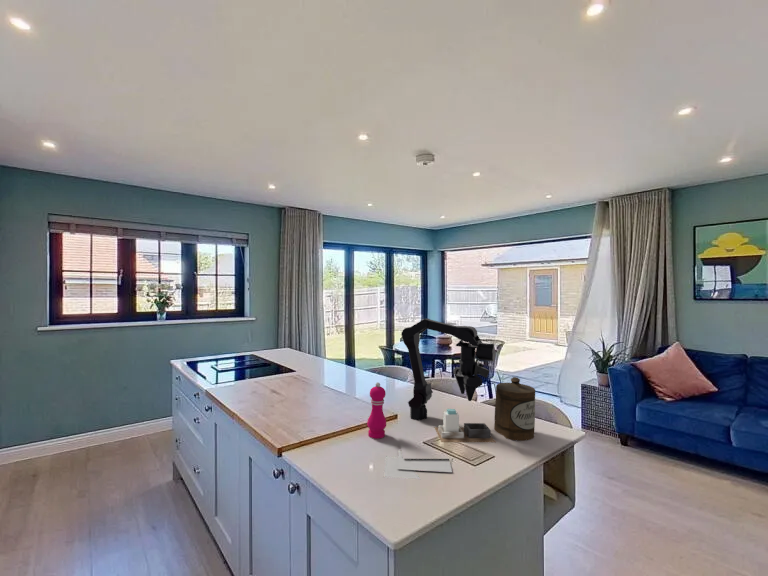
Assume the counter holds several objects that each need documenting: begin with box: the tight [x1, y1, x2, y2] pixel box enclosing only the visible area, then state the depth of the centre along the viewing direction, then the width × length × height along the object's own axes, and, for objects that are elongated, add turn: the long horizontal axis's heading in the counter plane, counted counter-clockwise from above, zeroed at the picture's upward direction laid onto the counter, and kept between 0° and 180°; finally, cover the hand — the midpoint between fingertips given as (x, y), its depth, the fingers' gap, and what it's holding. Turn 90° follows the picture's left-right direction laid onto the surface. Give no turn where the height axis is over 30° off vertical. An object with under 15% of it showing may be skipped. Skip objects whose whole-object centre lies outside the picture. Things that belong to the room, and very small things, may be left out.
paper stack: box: [382, 449, 453, 480], centre depth 116 cm, size 23×25×1 cm
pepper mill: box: [366, 382, 387, 440], centre depth 141 cm, size 7×7×20 cm
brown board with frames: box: [434, 422, 497, 443], centre depth 141 cm, size 20×14×4 cm
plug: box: [442, 408, 460, 432], centre depth 141 cm, size 5×4×9 cm
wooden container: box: [493, 376, 536, 442], centre depth 146 cm, size 15×15×22 cm
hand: (466, 397), depth 149 cm, fingers open, 9 cm apart
